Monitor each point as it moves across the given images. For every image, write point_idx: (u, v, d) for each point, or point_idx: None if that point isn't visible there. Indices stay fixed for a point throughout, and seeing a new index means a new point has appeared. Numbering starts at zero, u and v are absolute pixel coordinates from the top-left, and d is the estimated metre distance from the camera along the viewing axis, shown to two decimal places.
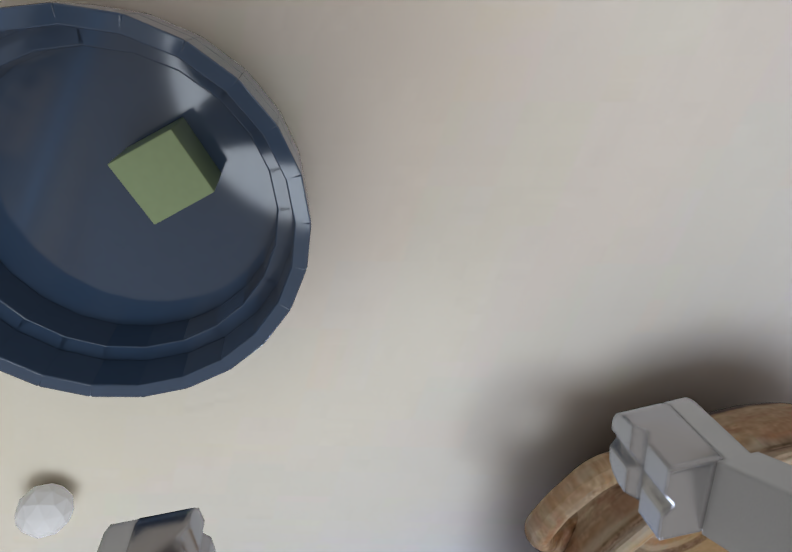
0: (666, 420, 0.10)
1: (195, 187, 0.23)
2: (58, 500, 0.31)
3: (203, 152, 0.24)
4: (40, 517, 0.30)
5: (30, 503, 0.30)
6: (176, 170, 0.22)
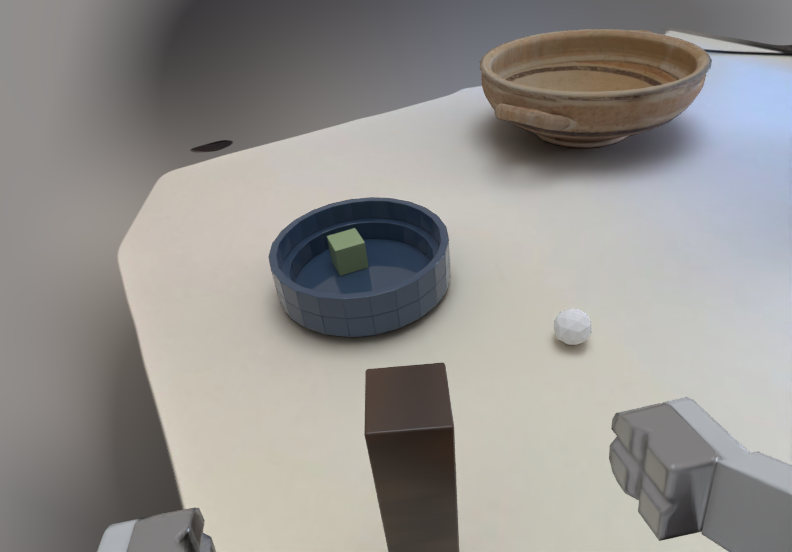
0: (666, 420, 0.10)
1: (351, 231, 0.53)
2: None
3: None
4: (564, 312, 0.43)
5: (557, 322, 0.43)
6: (343, 235, 0.53)
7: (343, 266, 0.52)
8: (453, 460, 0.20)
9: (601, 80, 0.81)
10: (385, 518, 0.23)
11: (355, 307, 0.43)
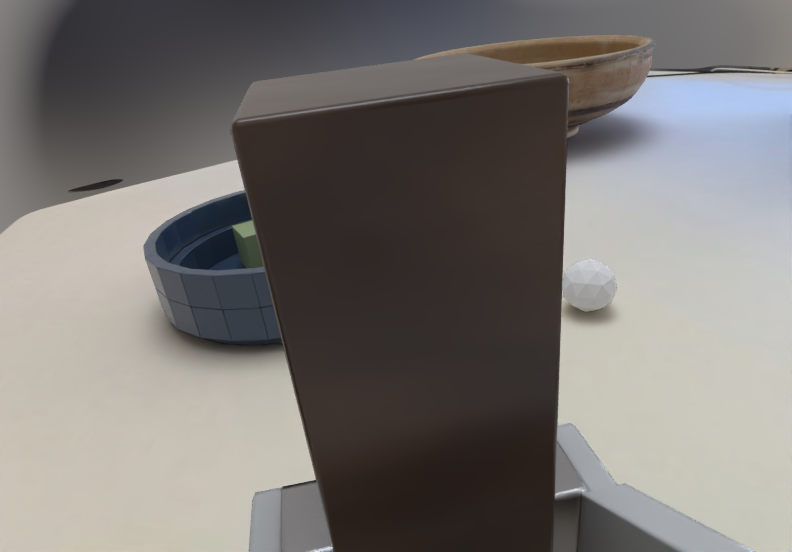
0: None
1: None
2: None
3: None
4: (575, 265, 0.30)
5: (567, 280, 0.30)
6: None
7: (257, 261, 0.37)
8: (559, 259, 0.06)
9: None
10: (345, 548, 0.07)
11: None
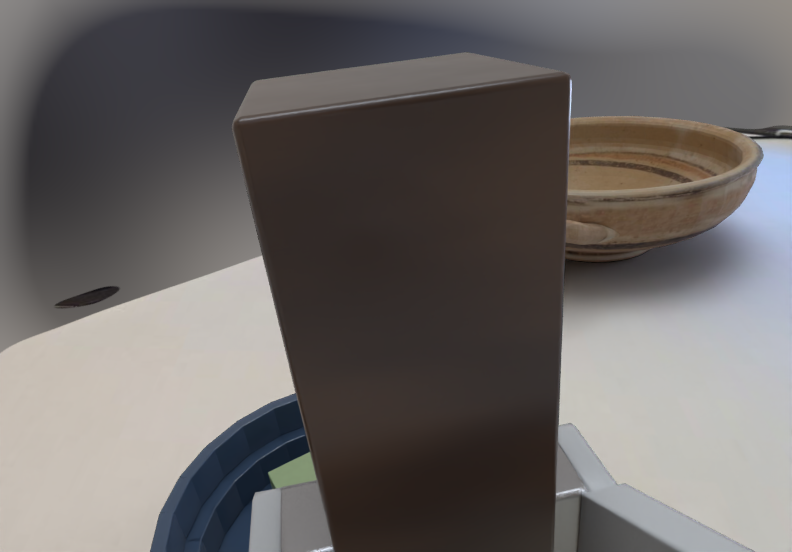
0: None
1: None
2: None
3: None
4: None
5: None
6: (298, 468, 0.29)
7: None
8: (561, 259, 0.06)
9: (597, 175, 0.65)
10: (346, 549, 0.07)
11: None
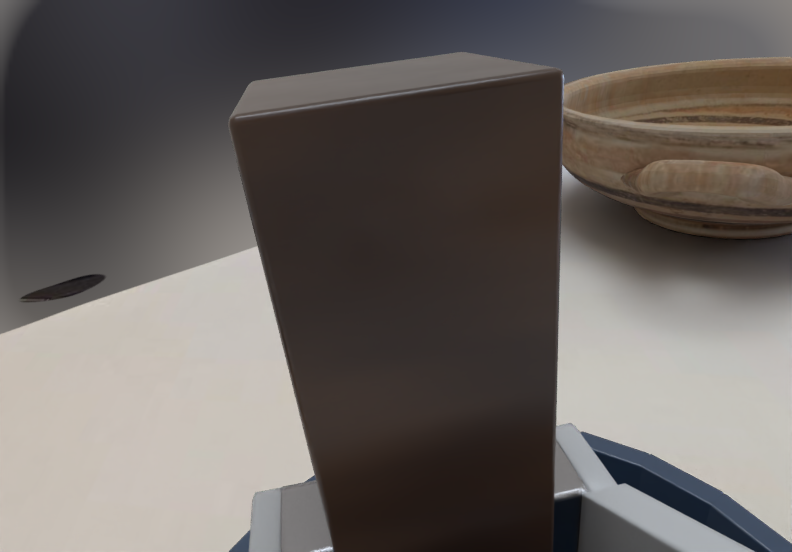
0: None
1: None
2: None
3: None
4: None
5: None
6: None
7: None
8: (556, 255, 0.06)
9: None
10: (345, 546, 0.07)
11: None
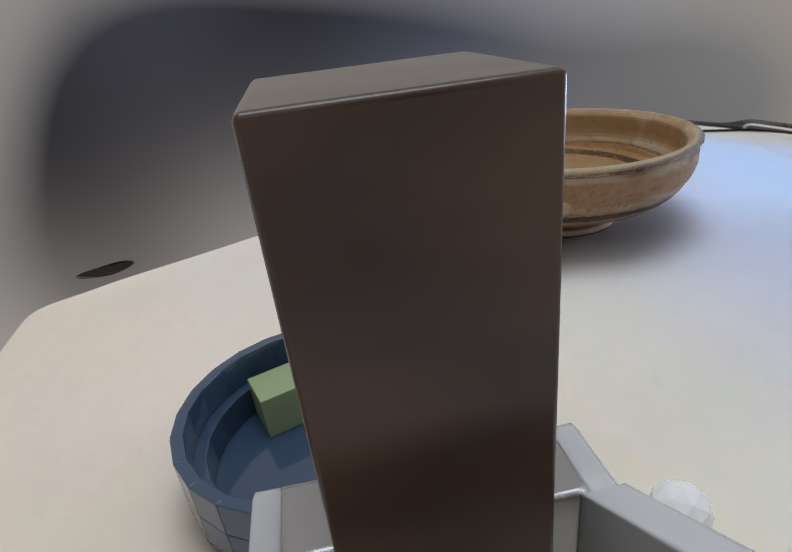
0: None
1: (284, 369, 0.37)
2: (651, 491, 0.27)
3: None
4: (665, 490, 0.26)
5: None
6: (271, 376, 0.36)
7: (274, 423, 0.35)
8: (559, 253, 0.06)
9: (568, 162, 0.72)
10: (345, 544, 0.07)
11: None
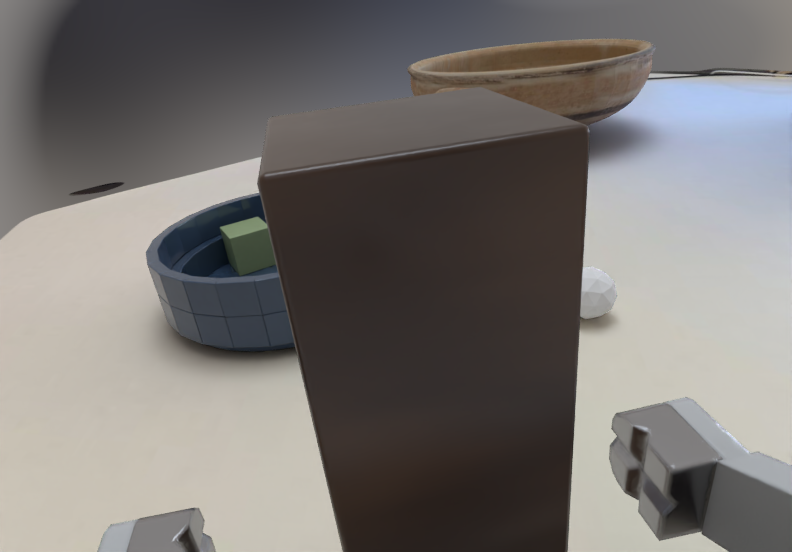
0: (666, 420, 0.10)
1: (253, 220, 0.41)
2: None
3: None
4: None
5: None
6: (241, 224, 0.40)
7: (243, 261, 0.39)
8: (577, 302, 0.06)
9: None
10: None
11: (274, 294, 0.29)
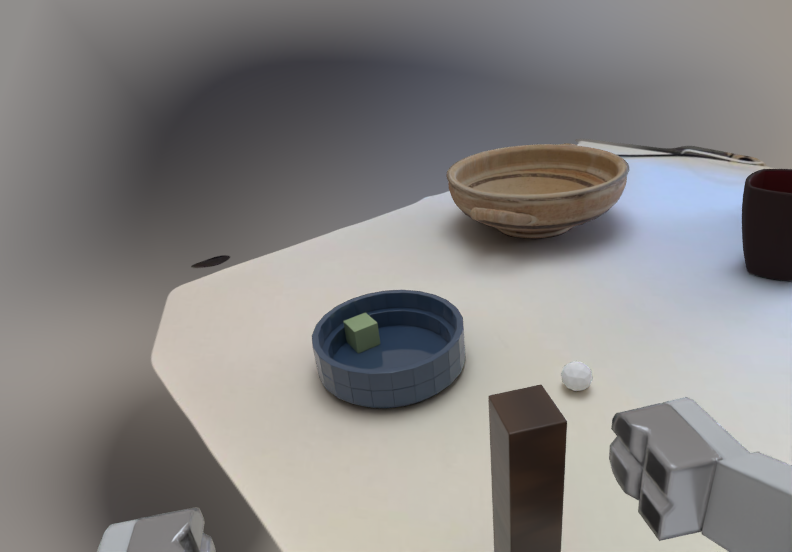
0: (666, 420, 0.10)
1: (363, 315, 0.63)
2: None
3: None
4: (569, 365, 0.53)
5: (564, 374, 0.53)
6: (357, 319, 0.63)
7: (360, 344, 0.62)
8: (565, 449, 0.29)
9: (542, 184, 0.98)
10: (513, 510, 0.30)
11: (401, 379, 0.52)
